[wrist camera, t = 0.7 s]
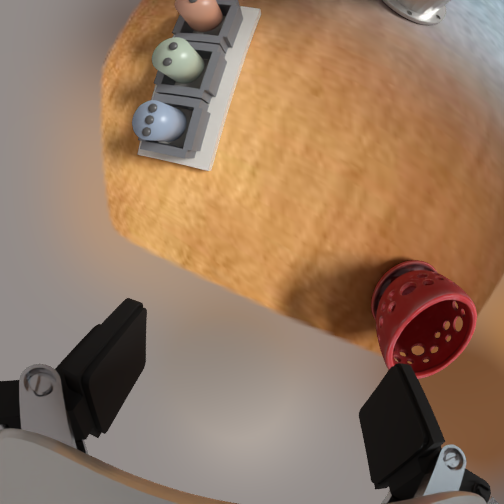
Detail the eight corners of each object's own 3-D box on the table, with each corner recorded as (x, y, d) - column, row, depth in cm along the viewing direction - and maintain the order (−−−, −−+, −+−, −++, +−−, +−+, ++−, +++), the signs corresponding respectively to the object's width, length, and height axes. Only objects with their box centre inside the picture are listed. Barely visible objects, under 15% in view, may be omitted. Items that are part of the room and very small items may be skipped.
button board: (191, 7, 25) (179, -9, 20) (261, 14, 25) (257, -5, 20) (142, 154, 33) (123, 155, 28) (211, 170, 33) (200, 172, 28)
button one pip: (195, 6, 22) (181, -14, 17) (227, 8, 22) (217, -14, 17) (184, 31, 23) (168, 13, 18) (216, 33, 23) (205, 14, 18)
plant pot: (356, 268, 35) (383, 315, 24) (436, 243, 33) (483, 277, 22) (366, 341, 39) (386, 395, 28) (437, 316, 37) (470, 360, 25)
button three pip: (158, 105, 26) (137, 98, 21) (190, 110, 26) (173, 102, 21) (150, 138, 28) (127, 136, 23) (181, 144, 28) (162, 143, 23)
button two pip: (176, 51, 24) (158, 36, 19) (208, 54, 24) (195, 37, 19) (166, 81, 25) (145, 70, 20) (198, 85, 25) (182, 73, 20)
